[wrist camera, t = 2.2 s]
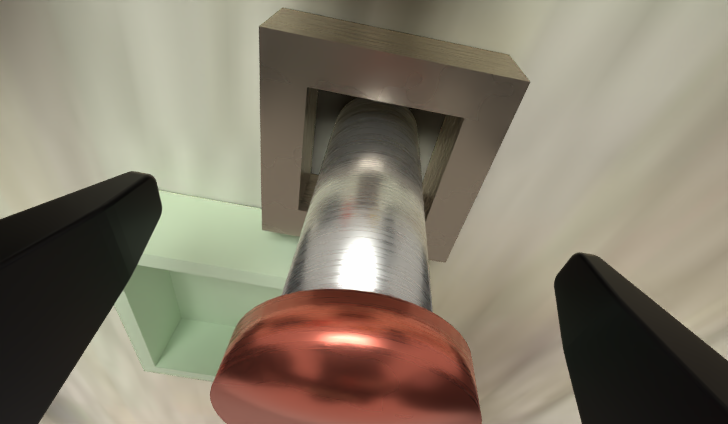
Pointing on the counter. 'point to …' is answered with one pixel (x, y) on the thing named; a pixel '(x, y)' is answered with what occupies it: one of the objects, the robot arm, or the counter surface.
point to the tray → (200, 283)
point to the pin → (354, 300)
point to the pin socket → (386, 84)
